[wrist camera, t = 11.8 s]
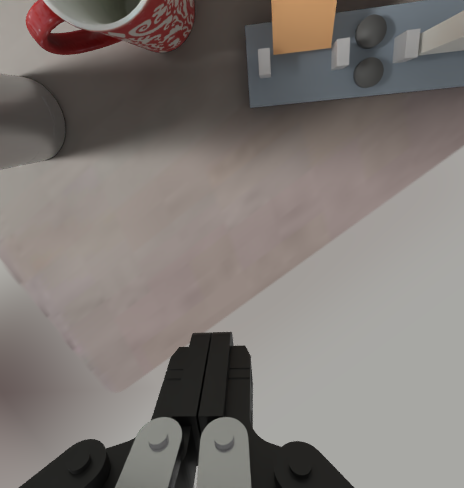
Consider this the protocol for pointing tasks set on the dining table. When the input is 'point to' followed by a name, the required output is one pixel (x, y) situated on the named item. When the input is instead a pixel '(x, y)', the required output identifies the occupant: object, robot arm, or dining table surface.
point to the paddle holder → (356, 57)
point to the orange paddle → (302, 25)
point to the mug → (111, 24)
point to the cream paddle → (443, 36)
